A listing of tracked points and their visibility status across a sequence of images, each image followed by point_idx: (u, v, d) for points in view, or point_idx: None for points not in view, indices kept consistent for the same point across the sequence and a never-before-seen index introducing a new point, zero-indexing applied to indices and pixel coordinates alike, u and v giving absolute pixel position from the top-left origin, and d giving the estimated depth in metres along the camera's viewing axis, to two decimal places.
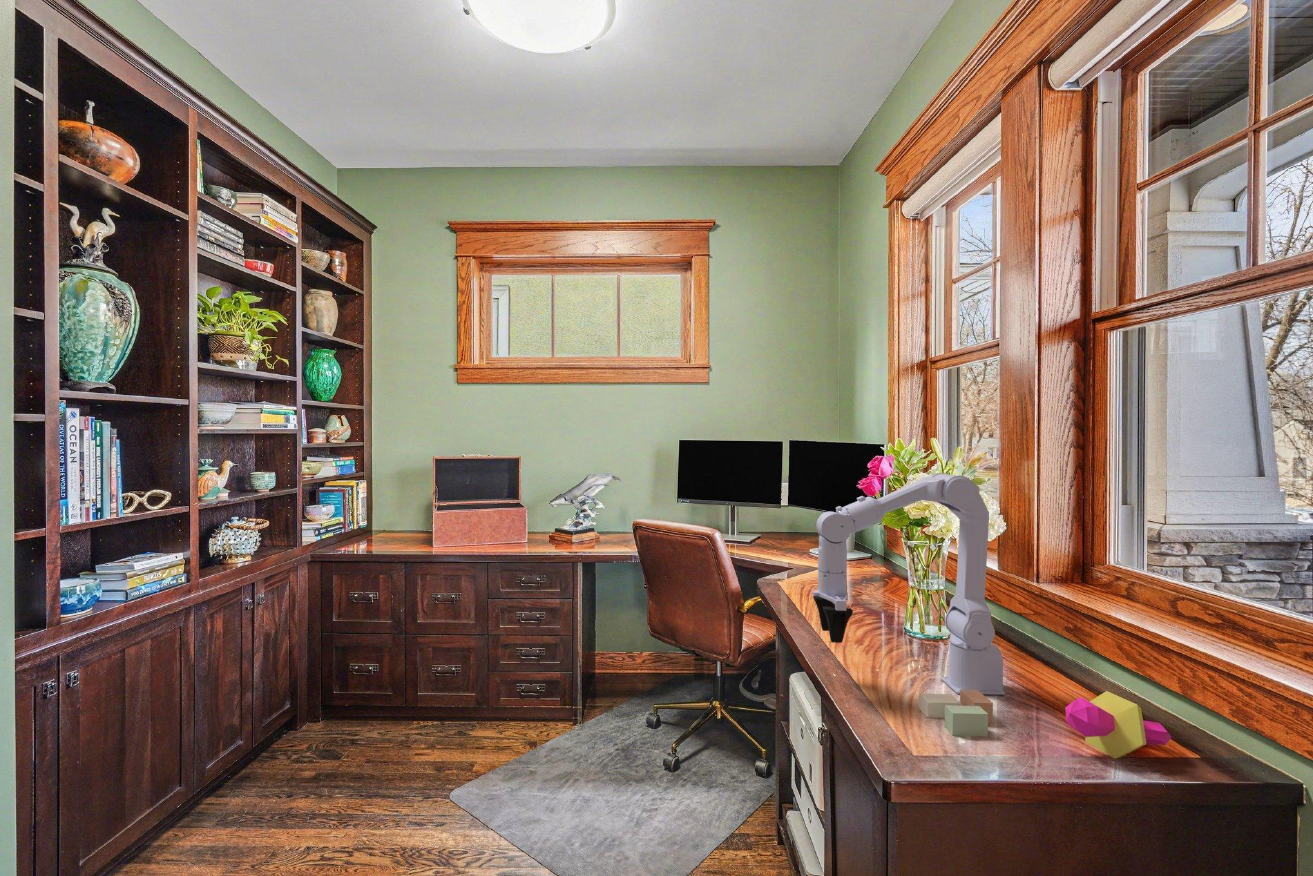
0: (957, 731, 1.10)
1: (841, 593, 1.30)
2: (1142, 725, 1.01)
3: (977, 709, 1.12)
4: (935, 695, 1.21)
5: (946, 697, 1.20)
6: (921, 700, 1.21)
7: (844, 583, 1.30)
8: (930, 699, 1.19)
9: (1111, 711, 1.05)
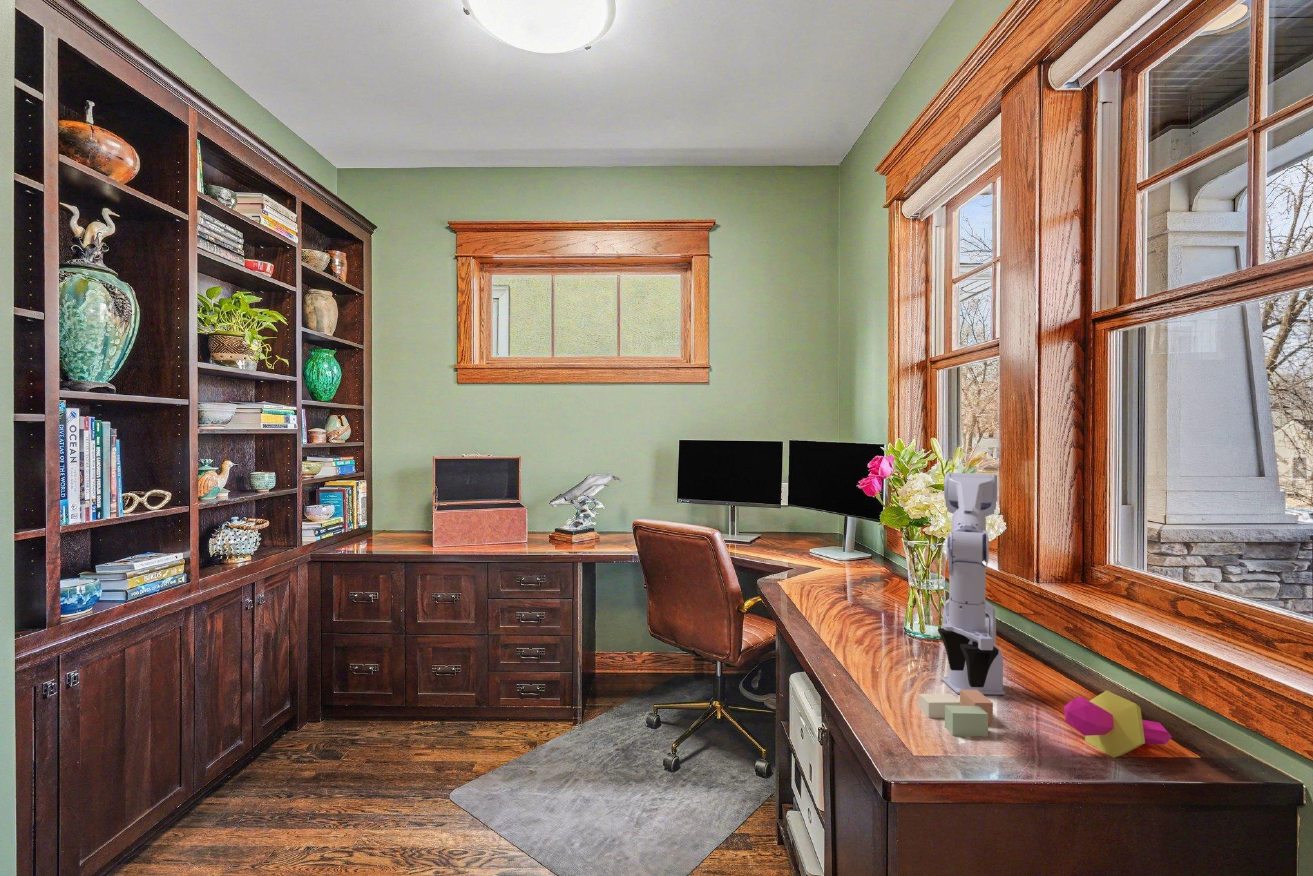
0: (957, 731, 1.10)
1: (981, 627, 1.09)
2: (1141, 724, 1.02)
3: (977, 709, 1.12)
4: (935, 695, 1.21)
5: (946, 697, 1.20)
6: (921, 700, 1.21)
7: (983, 616, 1.10)
8: (930, 699, 1.19)
9: (1111, 710, 1.05)
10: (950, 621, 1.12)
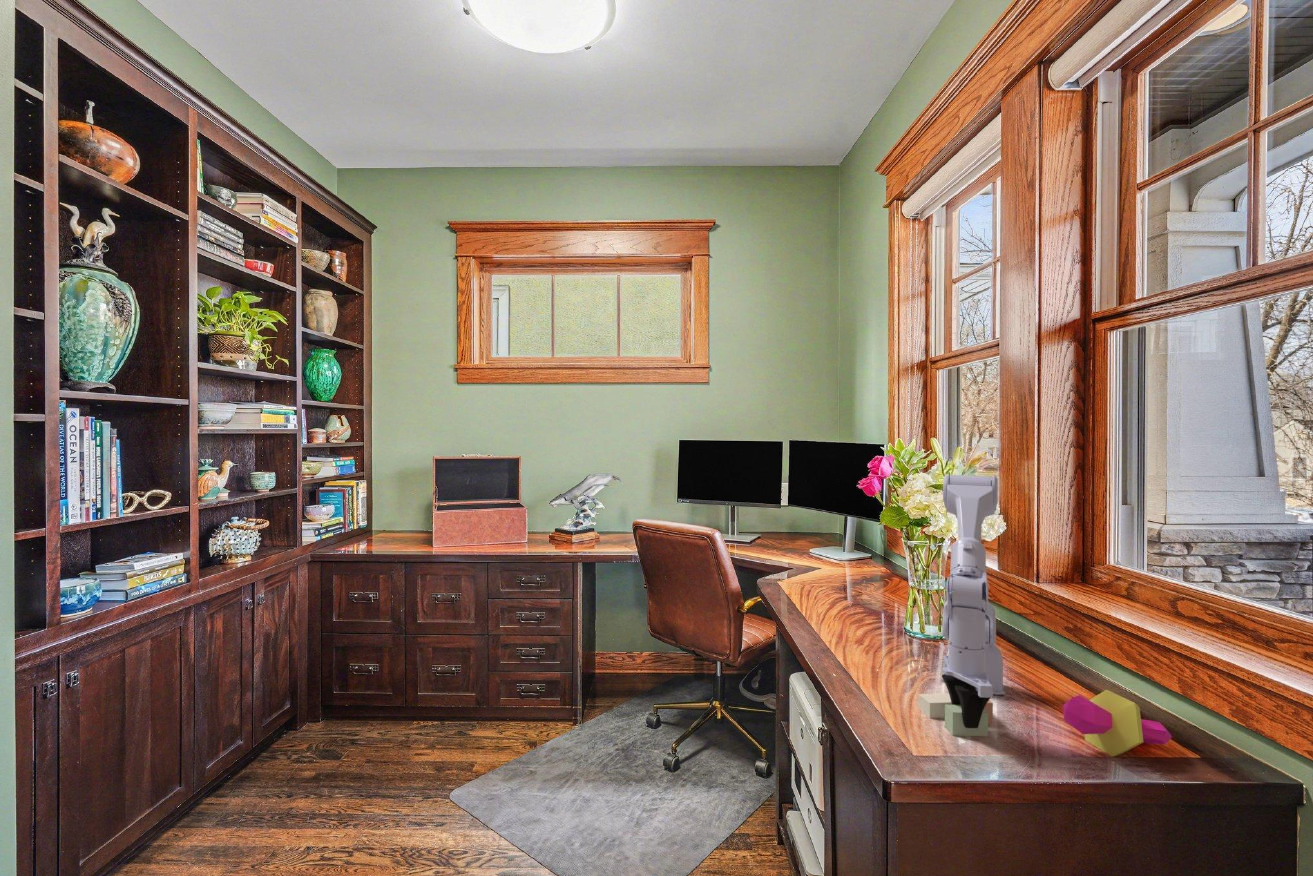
0: (957, 730, 1.10)
1: (980, 673, 1.09)
2: (1140, 723, 1.02)
3: None
4: (934, 695, 1.21)
5: (945, 697, 1.20)
6: (921, 701, 1.20)
7: (983, 661, 1.10)
8: (931, 699, 1.19)
9: (1110, 709, 1.05)
10: (950, 665, 1.12)
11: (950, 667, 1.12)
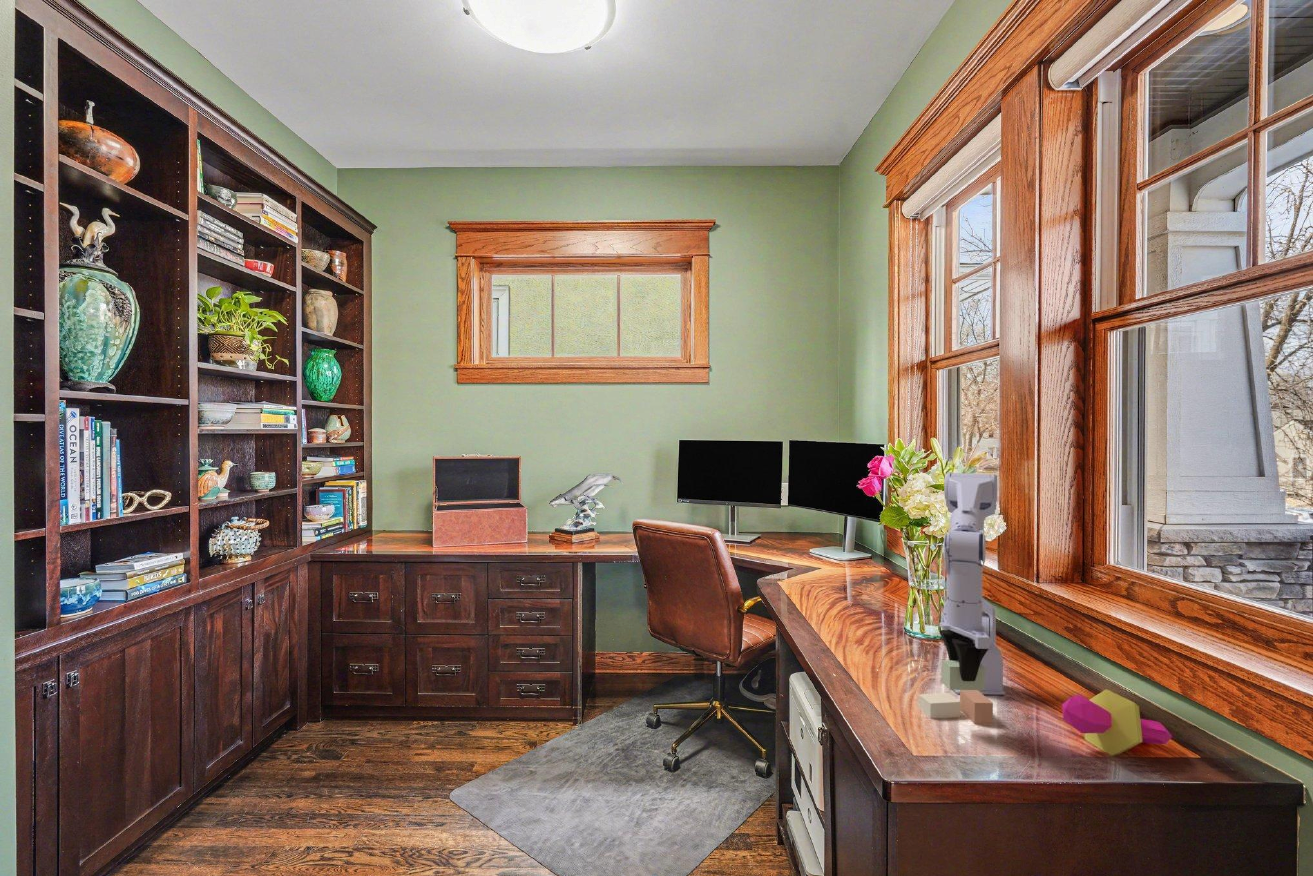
0: (954, 684, 1.11)
1: (977, 626, 1.10)
2: (1139, 723, 1.02)
3: None
4: (934, 695, 1.21)
5: (945, 696, 1.20)
6: (921, 701, 1.20)
7: (980, 615, 1.11)
8: (931, 699, 1.19)
9: (1109, 709, 1.06)
10: (947, 620, 1.13)
11: (948, 621, 1.13)
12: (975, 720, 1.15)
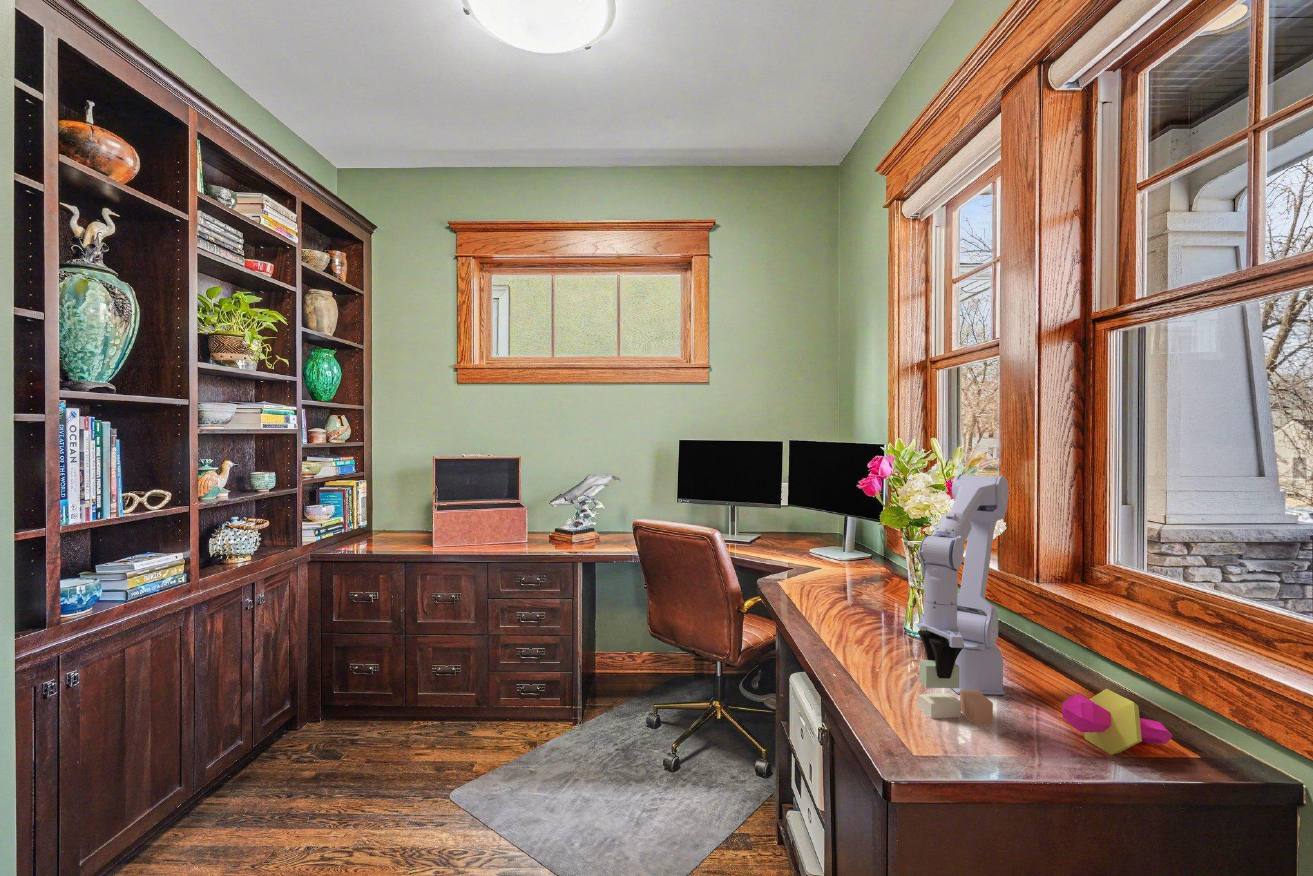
0: (930, 683, 1.18)
1: (952, 626, 1.17)
2: (1138, 722, 1.02)
3: None
4: (934, 695, 1.21)
5: (945, 696, 1.20)
6: (921, 701, 1.20)
7: (955, 616, 1.17)
8: (931, 700, 1.19)
9: (1109, 708, 1.06)
10: (925, 620, 1.20)
11: (925, 622, 1.19)
12: (975, 720, 1.15)
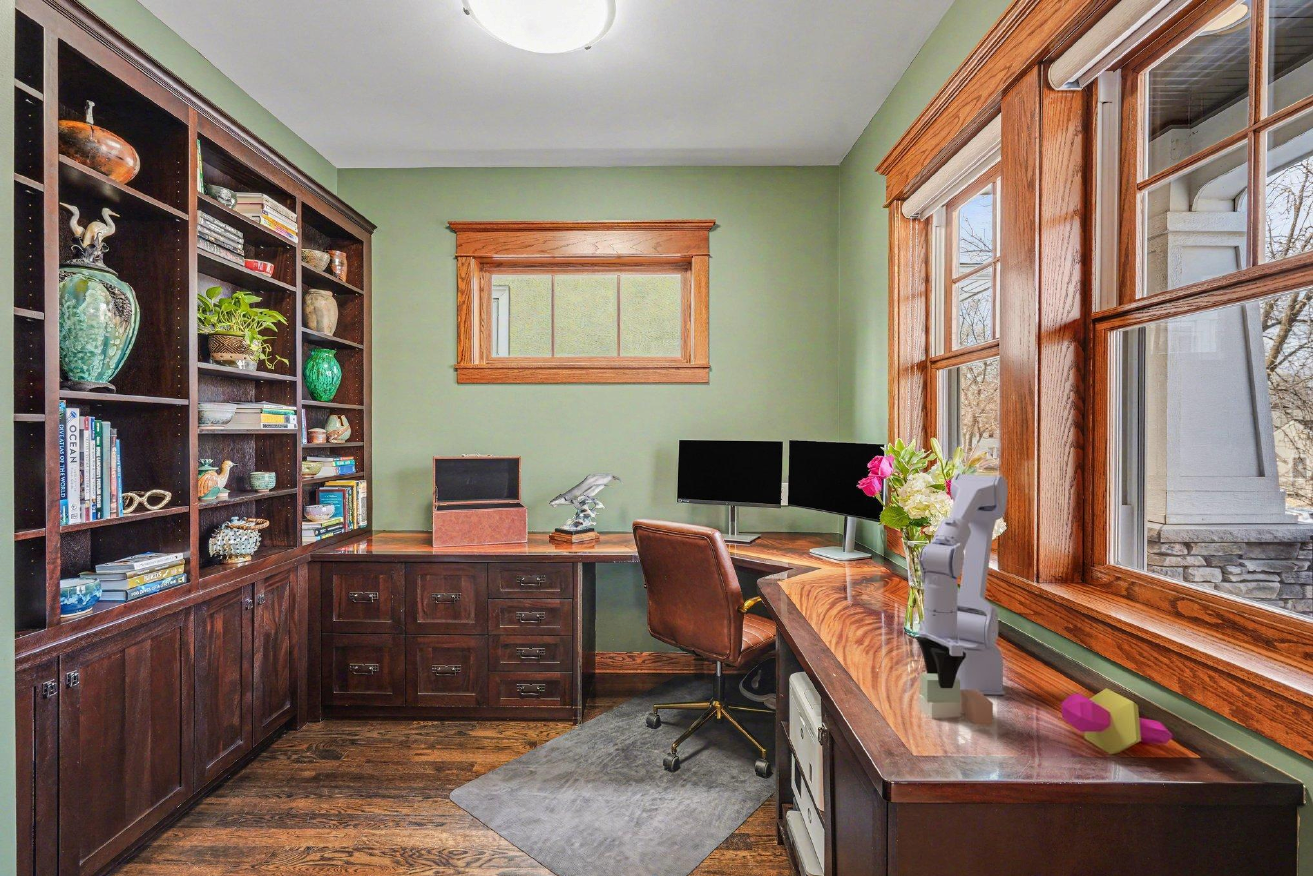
0: (931, 697, 1.18)
1: (952, 634, 1.17)
2: (1137, 722, 1.02)
3: None
4: None
5: None
6: (921, 701, 1.20)
7: (955, 624, 1.17)
8: None
9: (1108, 707, 1.06)
10: (924, 628, 1.20)
11: (925, 630, 1.19)
12: (975, 720, 1.15)
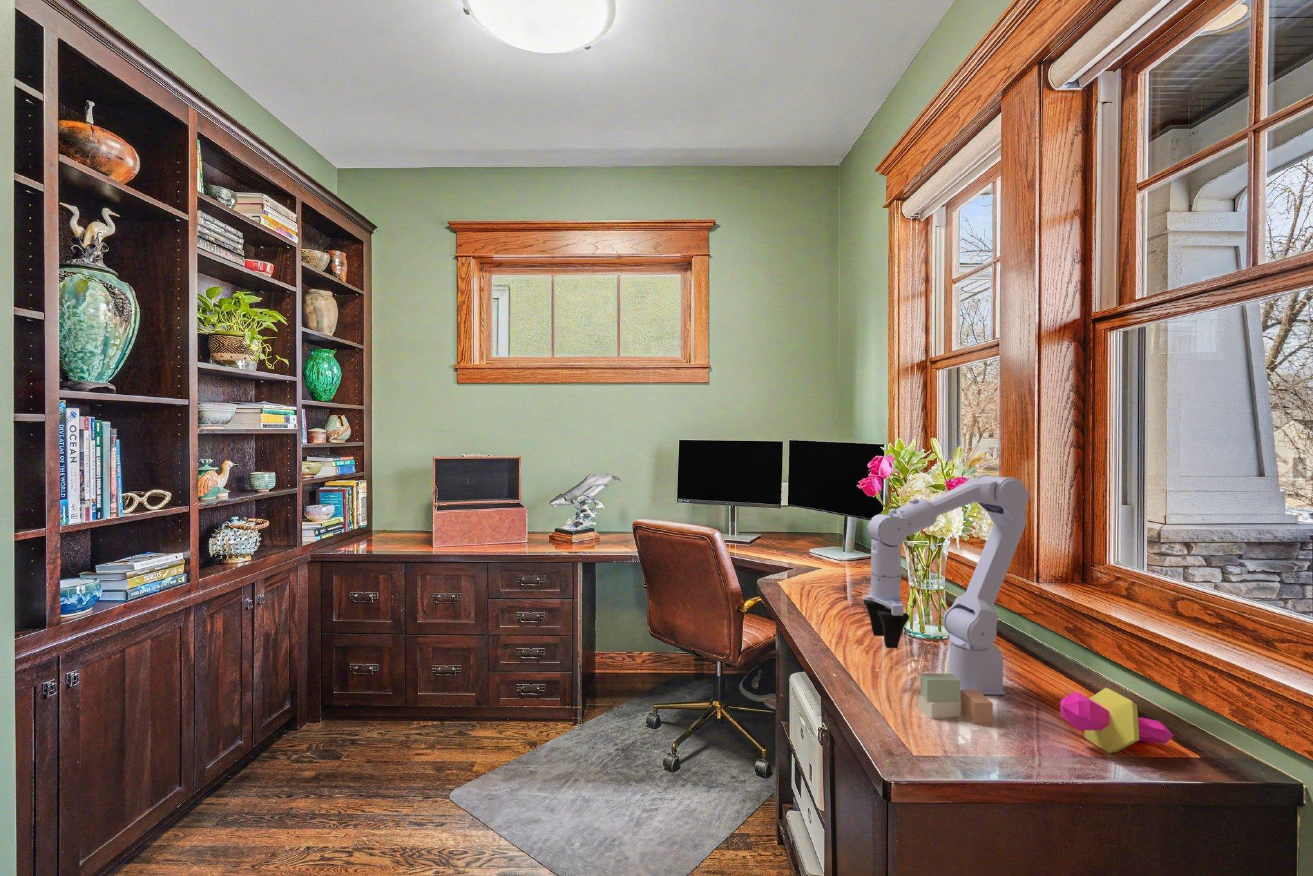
0: (931, 696, 1.18)
1: (896, 597, 1.27)
2: (1136, 721, 1.03)
3: (950, 676, 1.20)
4: None
5: None
6: (921, 701, 1.20)
7: (898, 587, 1.28)
8: None
9: (1108, 707, 1.06)
10: (871, 592, 1.30)
11: (871, 594, 1.30)
12: (975, 720, 1.15)
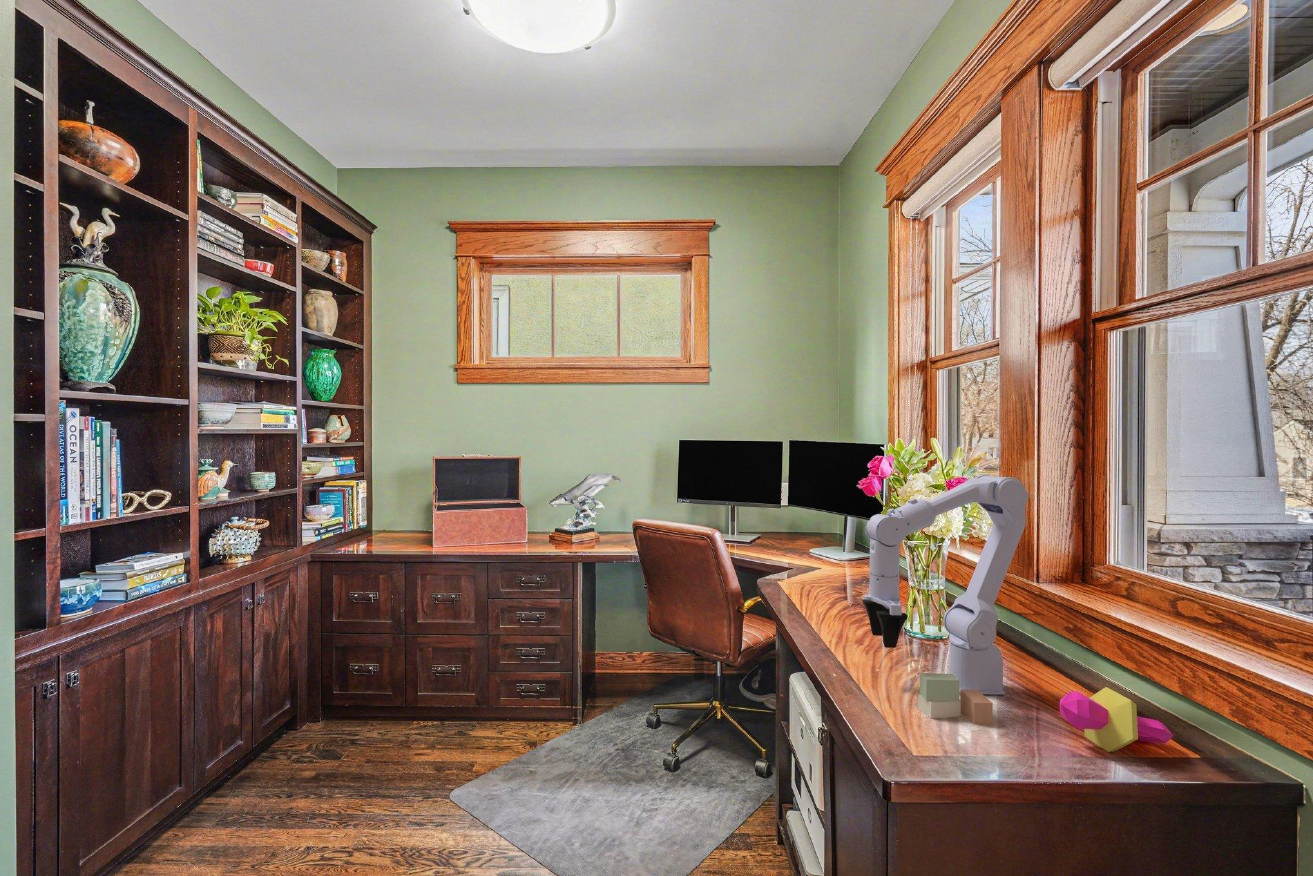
0: (930, 696, 1.18)
1: (894, 597, 1.28)
2: (1135, 720, 1.03)
3: (950, 676, 1.20)
4: None
5: None
6: (921, 701, 1.20)
7: (897, 587, 1.28)
8: None
9: (1107, 706, 1.07)
10: (870, 592, 1.30)
11: (870, 593, 1.30)
12: (975, 719, 1.15)
